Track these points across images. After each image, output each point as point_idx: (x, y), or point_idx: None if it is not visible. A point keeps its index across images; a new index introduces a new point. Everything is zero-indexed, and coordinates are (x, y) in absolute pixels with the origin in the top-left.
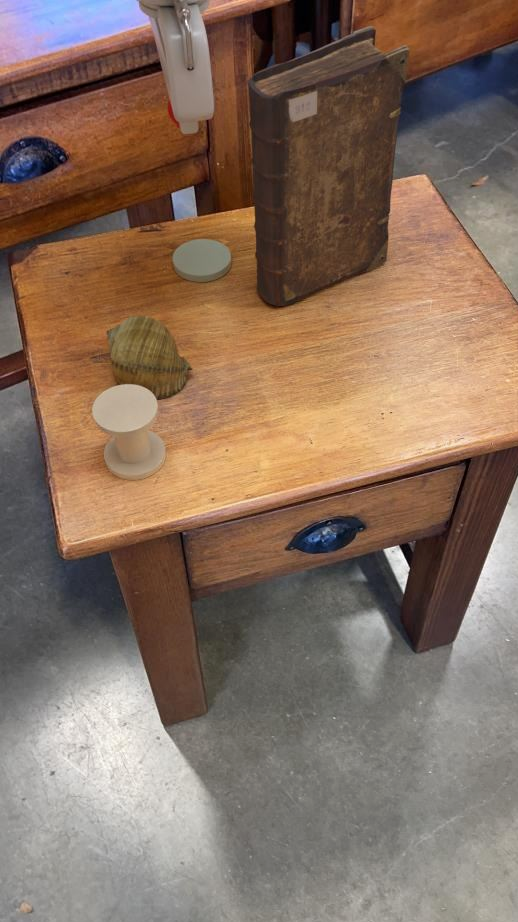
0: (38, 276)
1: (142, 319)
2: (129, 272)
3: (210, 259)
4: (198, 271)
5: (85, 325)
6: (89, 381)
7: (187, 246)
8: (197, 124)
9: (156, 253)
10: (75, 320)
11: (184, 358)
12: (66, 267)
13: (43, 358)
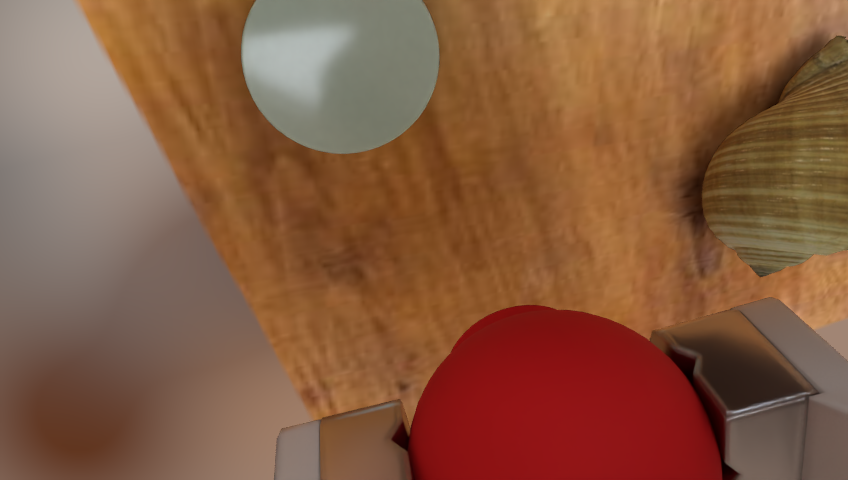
0: None
1: (829, 207)
2: (394, 254)
3: (356, 30)
4: (419, 64)
5: (593, 311)
6: None
7: (291, 114)
8: (803, 328)
9: (302, 199)
10: None
11: (820, 63)
12: (380, 393)
13: None
